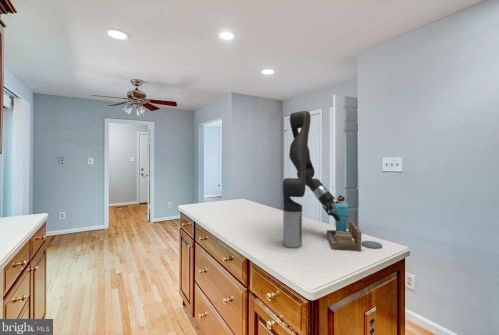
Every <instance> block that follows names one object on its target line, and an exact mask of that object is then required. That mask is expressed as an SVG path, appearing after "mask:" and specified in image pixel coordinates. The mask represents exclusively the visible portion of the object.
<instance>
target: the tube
mask: <svg viewBox="0 0 499 335" xmlns="http://www.w3.org/2000/svg"><path fill="white" fill-rule="evenodd" d="M334 208H335V214H337V215H338V217H339V218H340V221H338V222H337V221H336V220H335V219H334V220H335V231H339V232H346V231H347V225H348V222H347V220H348V217H347V216H348V210H349V203H340V204H335V203H334Z"/></svg>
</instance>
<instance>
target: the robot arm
mask: <svg viewBox="0 0 499 335" xmlns="http://www.w3.org/2000/svg"><path fill="white" fill-rule="evenodd" d="M311 121H312V120H311V113H310V111H308V110H301V111H297V112H292V113H291V114H290V116H289V123H290V129H291V132H292V137H293V140H292V142H291V144H290V146H289V159H290V161H291V163H292V164H293V166H294V167H295V169H296V175H297V178H296V177H287V178H286V177H285V178H284V179H283V182H282V204H283V206H282V208H283V209H282V210H283V212H282V213H283V215H282V216H283V217H282V218H283V219H282V221H283V222H282V224H283V225H282V226H283V228H282V229H283V230H282V236H283V237H282V240H283V241H282V244H283V246H285V248H294V249H296V248H297V249H300V247H302V246H303V205H302V204H300V203H299V202H297V201H294V200H293V199H292V198H303V197H304V196H305V194H306V186H307V187H308V188H309V189H310V191H311V192H312V193H313V195H314V196H315V197H316V199H317V200H318V201H319V203H320V204H321V205H322V208H323V210H324V211H325V212H326V213H327V215H328V216H329V217H330V216H331V217H333V219H334V220H336V221H337V222H338V221H340V218H339V217H338V215H337V214H335V208H334V203H335V204H341V203H340V202H339V200H336V201H334V199H335V197H334V196H333V194H332V193H331V192H330V190H328V188H327V187H326V186H325V185H324V184H323V183H322V182H321V181H320V179H318V178H314V176H315V172H316V171H315V168H314V166H313V163H312V161H311V155H310V153H311V152H310V148H309V146H308V145H309V134H310V127H311ZM299 129H300V131H299ZM291 197H292V198H291ZM347 218H349V216H348V215H347Z"/></svg>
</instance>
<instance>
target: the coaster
mask: <svg viewBox="0 0 499 335" xmlns="http://www.w3.org/2000/svg"><path fill="white" fill-rule="evenodd" d="M361 246H362V247H365V248H367V249H373V250H378V249H382V248H383V245H382V244H381V243H380V242H378V241H373V240H364V241H361Z"/></svg>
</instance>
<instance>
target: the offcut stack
mask: <svg viewBox="0 0 499 335" xmlns="http://www.w3.org/2000/svg"><path fill="white" fill-rule="evenodd" d="M335 231H336V230H335ZM334 241H335V242H339V243H355V240H354V238H353V237H352V235H351V233H350V232H339V231H336V235H334Z"/></svg>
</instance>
